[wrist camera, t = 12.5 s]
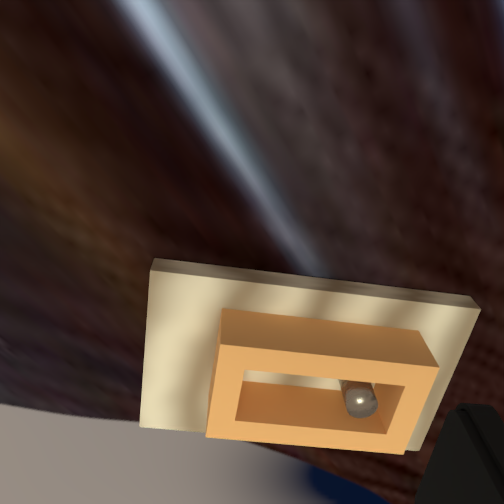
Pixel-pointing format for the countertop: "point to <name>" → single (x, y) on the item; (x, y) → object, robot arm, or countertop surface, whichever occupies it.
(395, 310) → the backing board
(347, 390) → the round metal post
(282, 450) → the countertop surface
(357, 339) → the orange rectangular frame
